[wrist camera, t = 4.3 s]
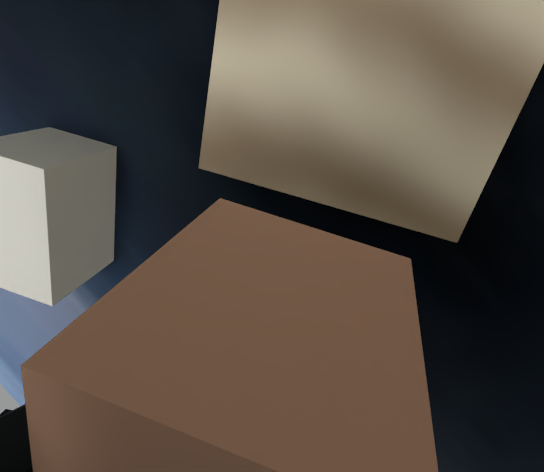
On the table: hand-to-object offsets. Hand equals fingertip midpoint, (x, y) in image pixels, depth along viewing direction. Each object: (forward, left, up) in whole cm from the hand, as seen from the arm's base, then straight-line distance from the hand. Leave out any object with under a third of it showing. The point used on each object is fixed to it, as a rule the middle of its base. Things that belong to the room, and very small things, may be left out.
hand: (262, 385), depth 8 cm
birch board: (+8, 0, -11) cm, 14 cm away
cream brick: (-3, +13, -12) cm, 18 cm away
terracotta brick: (0, 0, -1) cm, 1 cm away
